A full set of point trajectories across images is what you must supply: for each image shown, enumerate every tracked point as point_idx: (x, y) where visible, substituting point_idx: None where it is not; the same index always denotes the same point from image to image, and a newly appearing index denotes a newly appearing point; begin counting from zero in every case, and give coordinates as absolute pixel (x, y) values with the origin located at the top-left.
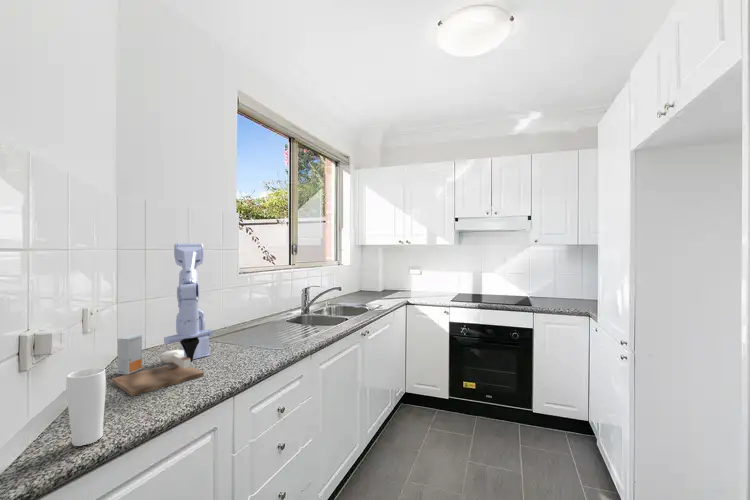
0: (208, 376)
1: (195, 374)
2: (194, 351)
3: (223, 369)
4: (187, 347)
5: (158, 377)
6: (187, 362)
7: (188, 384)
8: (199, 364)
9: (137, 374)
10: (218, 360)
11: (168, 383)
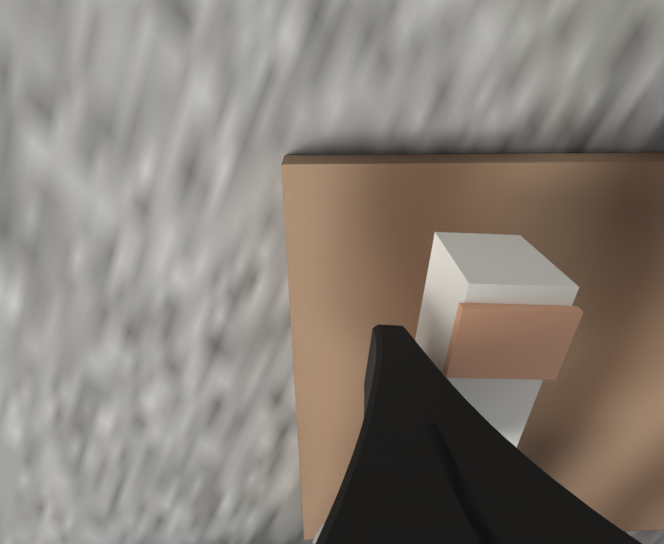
0: (254, 92)
1: (377, 162)
2: (370, 421)
3: (50, 189)
4: (609, 537)
5: (604, 351)
6: (499, 266)
7: (524, 5)
8: (196, 456)
9: (610, 500)
10: (43, 444)
11: (653, 157)
